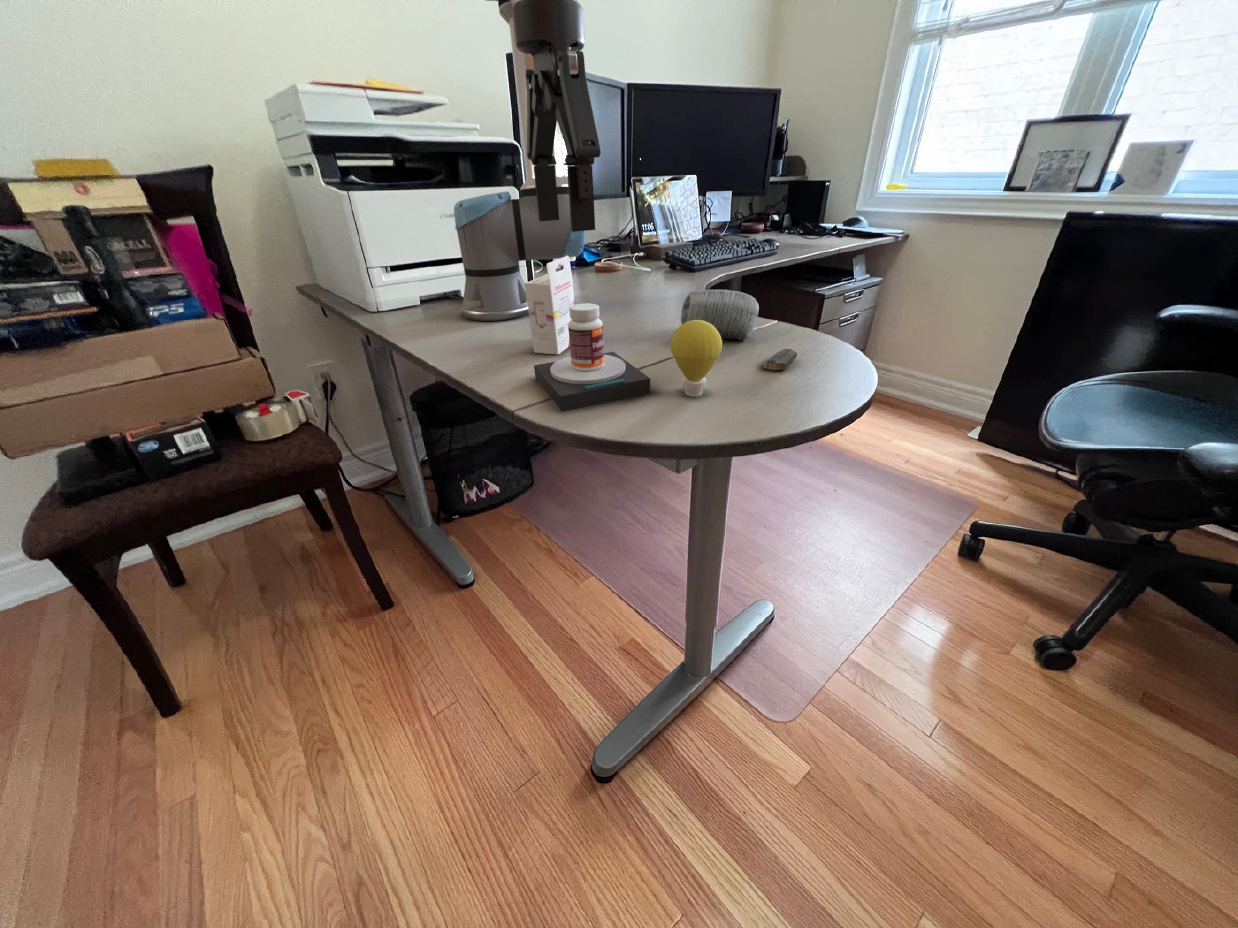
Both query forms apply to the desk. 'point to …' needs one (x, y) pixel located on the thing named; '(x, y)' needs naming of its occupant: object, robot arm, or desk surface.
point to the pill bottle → (586, 337)
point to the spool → (722, 311)
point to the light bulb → (695, 353)
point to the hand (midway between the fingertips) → (565, 225)
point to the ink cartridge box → (551, 307)
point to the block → (780, 360)
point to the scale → (591, 382)
